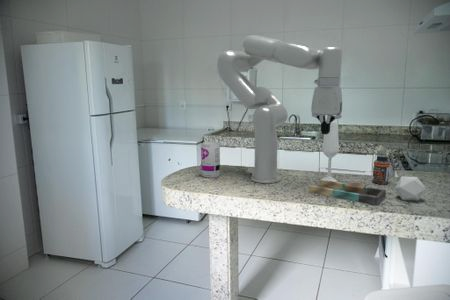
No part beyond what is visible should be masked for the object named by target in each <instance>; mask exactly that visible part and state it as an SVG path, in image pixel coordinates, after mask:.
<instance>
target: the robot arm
mask: <svg viewBox="0 0 450 300" xmlns="http://www.w3.org/2000/svg"><path fill="white" fill-rule="evenodd" d="M241 46H242V50H241V51H240V50H235V49H234V50H232V49H228V50H225V51H222V52H221V53H220V54H219V55H218V58H217V63H216V64H217V65H216V68H217V72H218V75H219V77H220V79H221V80H222V82H223V83H224V84H225V85H226V86H227V88H229V90H230V91H231V92H232V93H233V94H234V96H235V97H236V98H237V100H238V101H240V103H241V104H242V106H243V107H244V108H246V109H248V110H254V111H253V114H252V125H253V131H254V167H248V169H247V170H246V171H247V173H249V174H252V175H251V176H250V180H251V181H252V182H255V183H260V184H273V183H279V182H281V176H280V175H278V146H279V145H278V141H279V140H278V133H277V127H280V126H281V127H282V125H284V124H286V122H287V120H288V112H287V111H288V110H287V109H286V107H285V105H284V104H283V103H282V102H281V101H280V100H279V99H278V97H276V96H275V94H274V93H273V92H272V91H271V90H270V89H268V88H267V87H265V86H264V87H263V86H256V85H253V83H252V82H251V81H250V80H249V79H248V78H247V77H246V76H245V75H244V74H243V73H242V72H247V71H249V70H251V69H252V68H254V67H255V66H257V65H258V64H260V63H261V62H263V61H267V62H268V61H269V62H272V63H277V64H282V65H286V66H290V67H294V68H297V69H307V70H318V74H317V79H314V81H313V82H314V85H315V84H316V85H317V86H314V90H313V94H312V99H311V107H310V108H311V109H310V111H311V112H310V113H311V117H312V118H315V119H318V121H319V123H320V132H321V133H320V134H321V135H324V134H329V132H330V124H331V123H333V122H334V121H335V120H337V119H341V118H342V112H343V92H342V87H341V86H340V83H341V70H342V58H343V57H342V56H343V50H342V48H341V47H339V46H326V47H322V48H321V49H319V48H313V47H309V46H305V45H300V44H294V43H290V42H286V41H283V40H281V39H276V38H272V37H267V36H262V35H257V34H251V35H247V36H246V37H245V38H244V39H243V41H242V45H241ZM326 116H327V117H326Z"/></svg>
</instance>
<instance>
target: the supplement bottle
mask: <svg viewBox="0 0 450 300" xmlns="http://www.w3.org/2000/svg"><path fill="white" fill-rule="evenodd" d="M388 159H389V157H388V155H386V154H385V155H384V154H378V155H376V159H375V160H374V161H373V165H372V166H373V167H372V175H371V176H372V180H371V181H372V183H374V184H377V185H388V183H389V178H390V177H389V175H390V164H391V163H390V161H389V160H388Z"/></svg>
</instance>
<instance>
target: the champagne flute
mask: <svg viewBox="0 0 450 300" xmlns="http://www.w3.org/2000/svg"><path fill="white" fill-rule="evenodd" d="M339 144H340V142H339V123H334V122H332V123H331V124H330V132H329V134H323V141H322V148H321V151H322V154H324V156H326V157H327V158H328V160H327V161H328V162H327V166H328V167H327V176H324V177H323V178H321V179H322V180H328V181H334V182H338V180H337V179H335V178H334V177H332V175H331V174H332V173H331V172H332V158H334V157H335V156H337V155H338V153H339V151H340V145H339Z"/></svg>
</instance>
